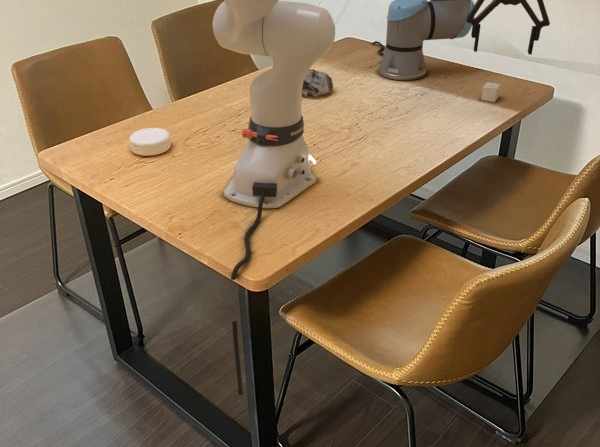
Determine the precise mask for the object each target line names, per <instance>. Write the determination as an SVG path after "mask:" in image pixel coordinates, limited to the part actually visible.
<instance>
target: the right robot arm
mask: <svg viewBox="0 0 600 447" xmlns="http://www.w3.org/2000/svg"><path fill="white" fill-rule="evenodd" d="M484 2H485V0H476V1H475V2H474V0H429V1H428V0H393V1H391V2H390V3H389V5H388V11H387V15H386V20H387V22H386V40H385V46H384V45H383V43H381V42H380V41H378V40H375V41H373V42H372V45H375V44H377V45H379V46H380V48H379V49H378V51H377V52H378V54H379V55H381V56H382V58H381V61H380V63H379V66H378V73H379V75H380V76H381V77H384V78H386V79H389V80H394V81H414V80H420V79H422V78H424V77H426V74H427V65H426V60H425V56H424V51H423V48H424V47H423V46H424V41H435V40H437V41H438V40H454V39H461V38H464V37H466V36H467V35H468V34H469V33H470V31H471V34H470V35H471V38H472V39H474V42H473V43H474V45H473V53H478V46H479V40H480V33H481V31H480V30H481V22H482V21H483V20H484V19H485V18H487V16H488V15H490V14H491V12H493V10H494V9H496V7H499V5H500V4H502V5H504V6H509V5H511V6H517V5H520V4H521V6H522V7H523V8H524V10H525V12H526V13H527V15H528V16H529V17H530V19H531V21H532V22H533V24H534V25H532V26H531V31H530V36H529V42H528V47H527V54H528V55H530V56H531V55H533V49H534V45H535V42H536V41H537V42H538V41H539V40H540V36H541V31H542V29H543V28H544V27H549V26H550V25H551V22H550V19H549V16H548V11H547V9H546V6H545V3H544V0H536V2H537V5H538V8H539V12H540V14H541V18H542V20H540V19H539V17H538V15H537V14H536V13H535V12H534V10H533V8H532V7H531V5H530V4H529V2H528V1H527V0H492V1H491V2H490V3H489V4H488V5H487V6H486V7H485V8H483V10H482V11H480V12H479V14H477V13H478V11H479V10H480V8H481V7H482V6H483V4H484ZM476 14H477V16H476ZM384 49H385V50H384ZM383 50H384V52H382V51H383Z"/></svg>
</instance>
